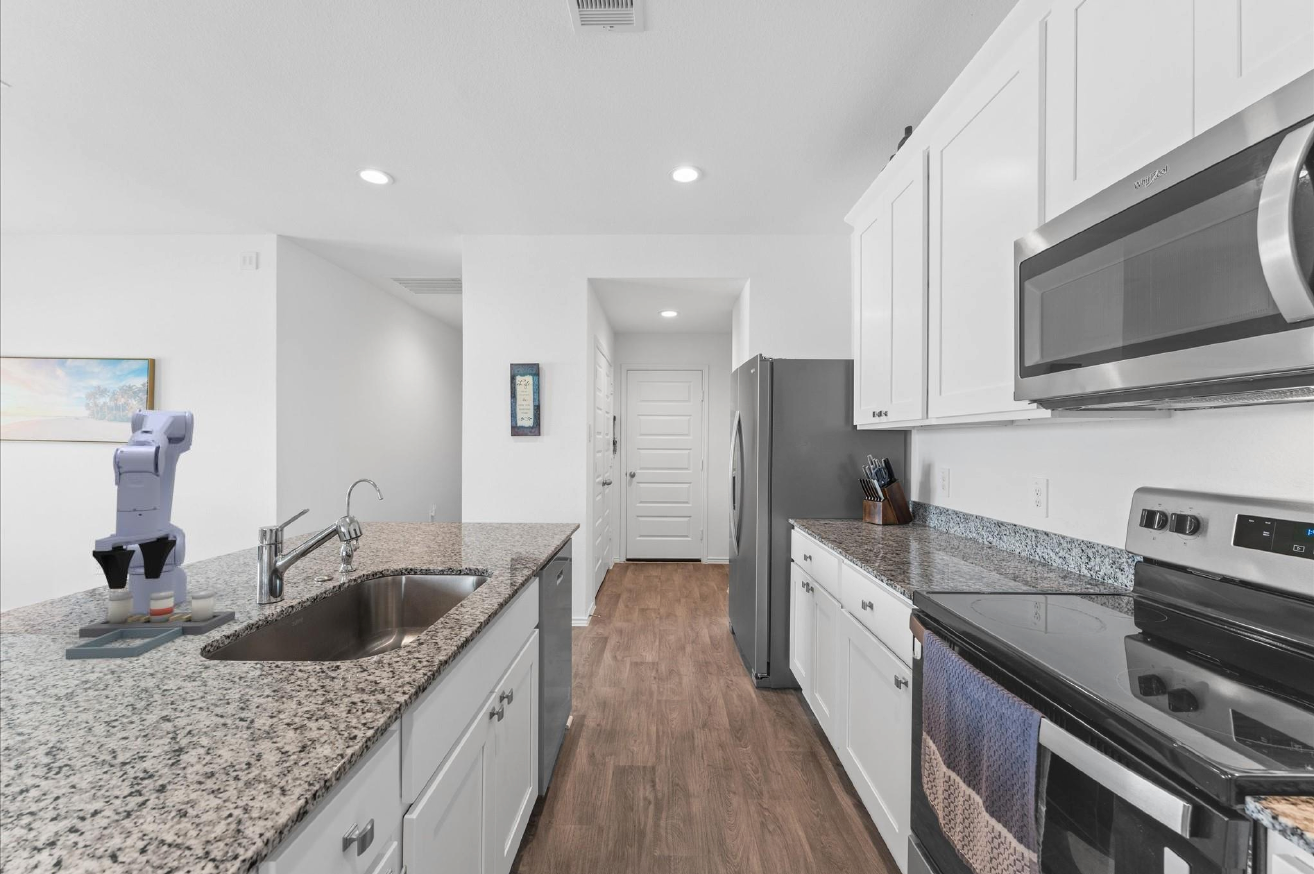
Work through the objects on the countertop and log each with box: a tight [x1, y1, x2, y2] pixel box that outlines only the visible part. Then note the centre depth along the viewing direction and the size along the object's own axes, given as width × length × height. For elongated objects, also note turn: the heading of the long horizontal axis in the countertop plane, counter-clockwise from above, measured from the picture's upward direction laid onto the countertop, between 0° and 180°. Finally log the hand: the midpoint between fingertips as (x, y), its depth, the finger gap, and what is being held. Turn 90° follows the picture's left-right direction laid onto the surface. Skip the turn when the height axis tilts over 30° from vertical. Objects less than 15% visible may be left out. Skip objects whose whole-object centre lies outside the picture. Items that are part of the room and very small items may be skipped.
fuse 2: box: [190, 589, 215, 622], centre depth 102 cm, size 3×3×6 cm
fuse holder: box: [78, 610, 236, 639], centre depth 102 cm, size 9×20×3 cm, turn 96°
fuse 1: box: [107, 590, 133, 624], centre depth 101 cm, size 3×3×6 cm
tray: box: [65, 627, 183, 660], centre depth 92 cm, size 10×10×2 cm
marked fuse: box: [149, 590, 175, 623], centre depth 102 cm, size 3×3×6 cm
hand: (135, 583), depth 101 cm, fingers open, 7 cm apart
